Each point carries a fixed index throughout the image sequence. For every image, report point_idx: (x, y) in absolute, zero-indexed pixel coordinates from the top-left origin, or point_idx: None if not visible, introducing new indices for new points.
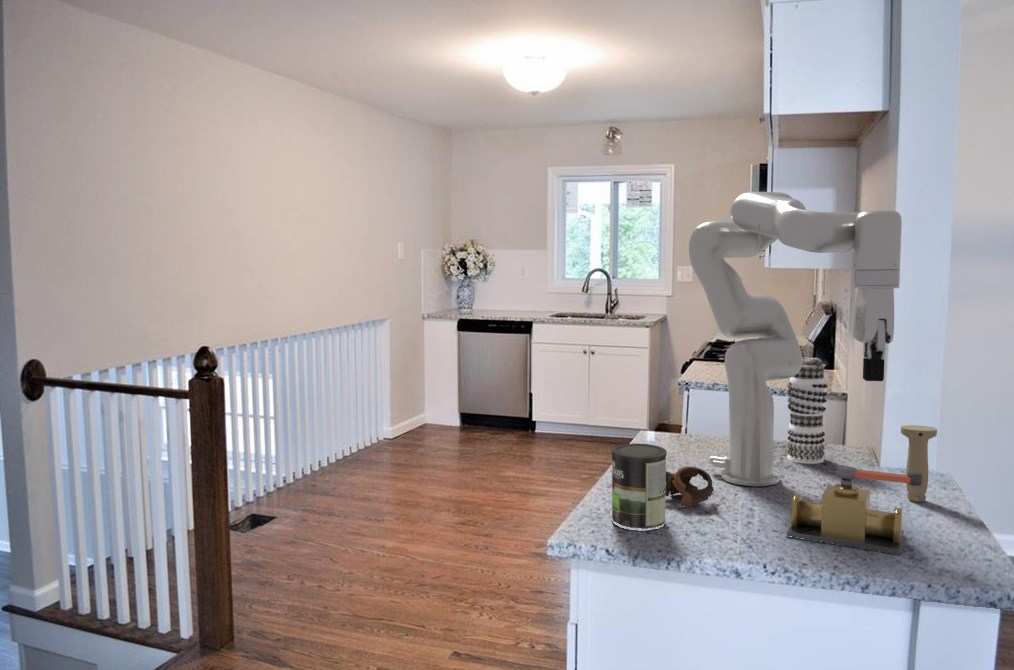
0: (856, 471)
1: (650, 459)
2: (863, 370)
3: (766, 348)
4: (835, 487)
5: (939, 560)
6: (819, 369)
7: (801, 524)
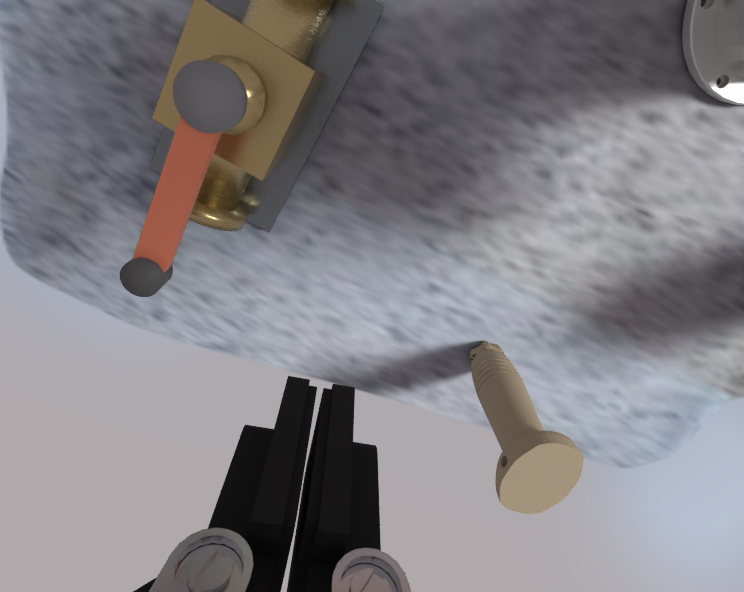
0: (187, 123)
1: None
2: (334, 429)
3: None
4: (221, 56)
5: (140, 231)
6: None
7: None
